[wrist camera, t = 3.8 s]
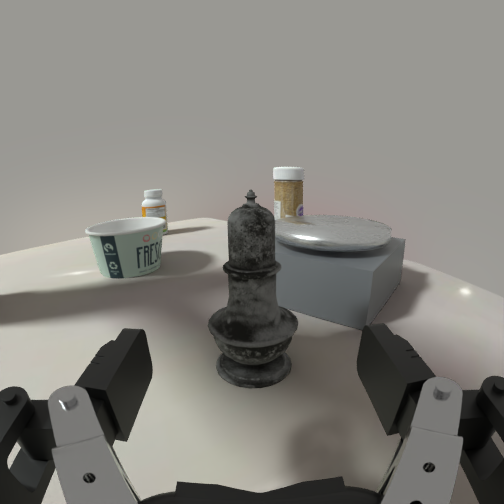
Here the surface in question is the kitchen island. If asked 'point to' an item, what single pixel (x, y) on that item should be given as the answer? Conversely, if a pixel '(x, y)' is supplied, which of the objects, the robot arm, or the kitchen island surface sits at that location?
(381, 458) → the kitchen island surface
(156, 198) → the supplement bottle
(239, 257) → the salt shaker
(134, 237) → the food container
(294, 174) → the sprinkles bottle
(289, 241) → the scale pan
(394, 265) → the kitchen scale
